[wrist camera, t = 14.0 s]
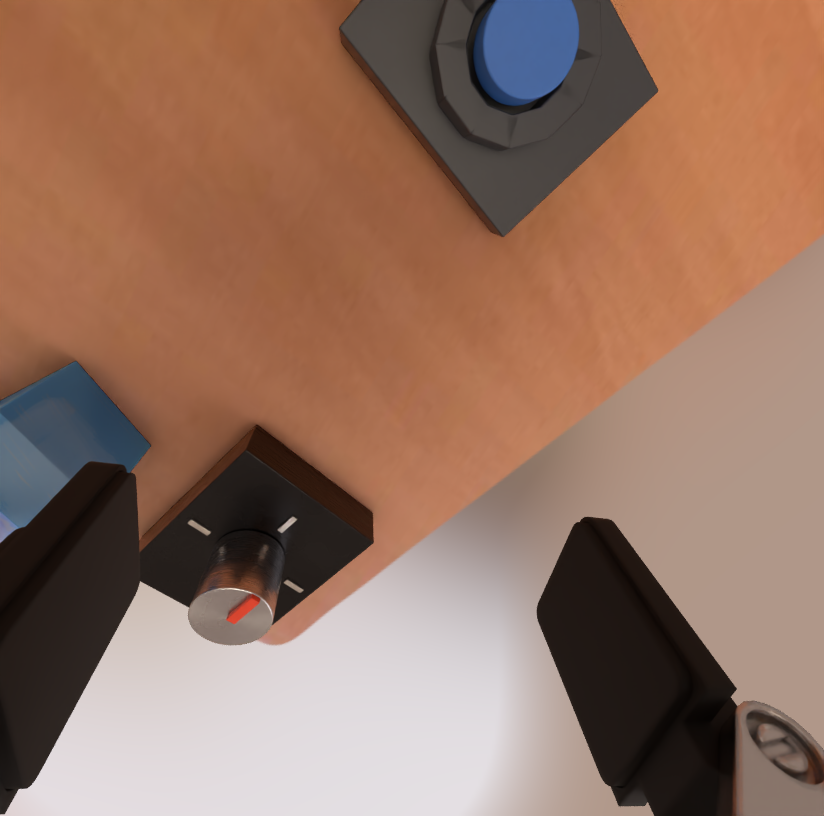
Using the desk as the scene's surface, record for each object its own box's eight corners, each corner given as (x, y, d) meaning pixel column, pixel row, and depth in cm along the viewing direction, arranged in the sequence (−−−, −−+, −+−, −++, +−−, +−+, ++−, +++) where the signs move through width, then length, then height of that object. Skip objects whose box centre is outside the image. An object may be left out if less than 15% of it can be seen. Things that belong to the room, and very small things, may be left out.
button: (454, 48, 18) (462, 35, 17) (526, -32, 17) (543, -53, 16) (509, 127, 20) (522, 122, 18) (578, 56, 19) (598, 45, 17)
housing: (340, 42, 21) (335, 12, 17) (496, -146, 18) (529, -224, 15) (492, 233, 25) (514, 242, 21) (633, 98, 23) (684, 83, 19)
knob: (254, 593, 30) (237, 661, 26) (197, 559, 29) (168, 626, 24) (299, 555, 29) (289, 619, 25) (242, 517, 28) (220, 579, 23)
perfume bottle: (151, 445, 28) (22, 607, 18) (68, 486, 29) (-105, 666, 18) (76, 360, 26) (-131, 490, 15) (-14, 408, 26) (-273, 564, 16)
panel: (141, 537, 31) (118, 572, 28) (256, 424, 28) (245, 451, 26) (260, 606, 35) (251, 644, 32) (373, 512, 32) (374, 544, 29)
